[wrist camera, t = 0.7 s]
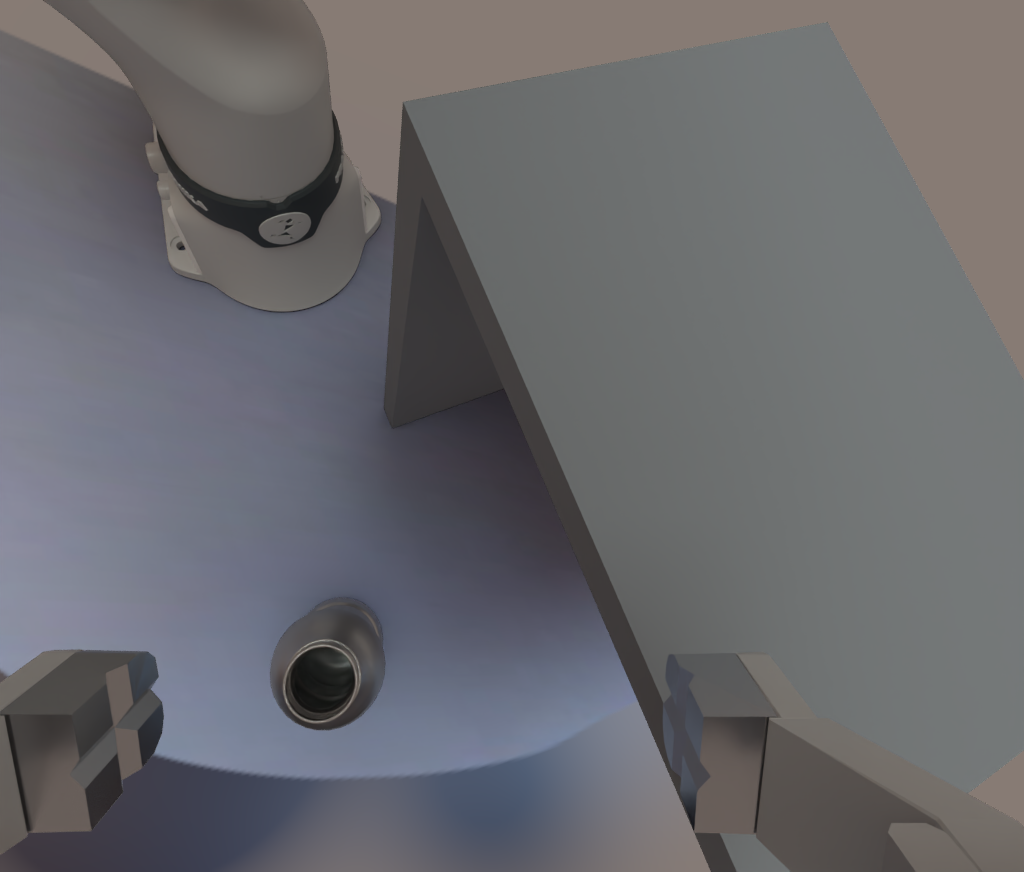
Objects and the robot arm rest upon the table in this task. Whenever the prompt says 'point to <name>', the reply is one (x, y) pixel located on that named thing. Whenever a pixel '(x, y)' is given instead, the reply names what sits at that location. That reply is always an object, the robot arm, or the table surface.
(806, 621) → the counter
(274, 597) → the table surface
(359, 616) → the plastic bottle
